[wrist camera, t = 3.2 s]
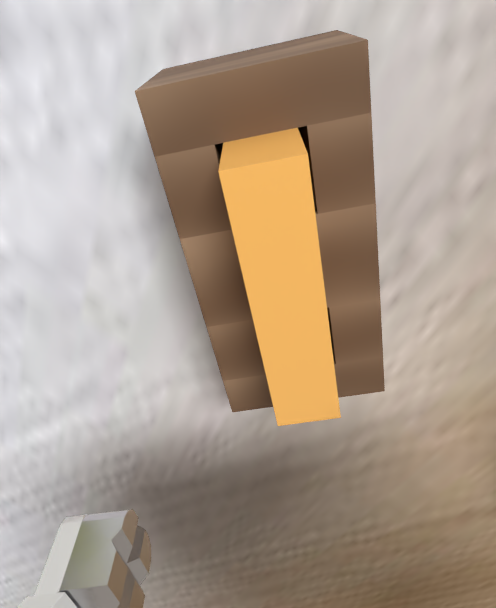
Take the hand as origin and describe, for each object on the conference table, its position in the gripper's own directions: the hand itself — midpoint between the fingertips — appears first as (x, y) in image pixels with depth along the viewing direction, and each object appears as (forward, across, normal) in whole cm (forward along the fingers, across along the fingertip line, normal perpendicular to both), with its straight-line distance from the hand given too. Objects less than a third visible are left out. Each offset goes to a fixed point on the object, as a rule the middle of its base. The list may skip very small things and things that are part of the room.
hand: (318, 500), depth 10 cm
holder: (+15, 0, -1) cm, 15 cm away
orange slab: (+14, 0, -1) cm, 14 cm away
